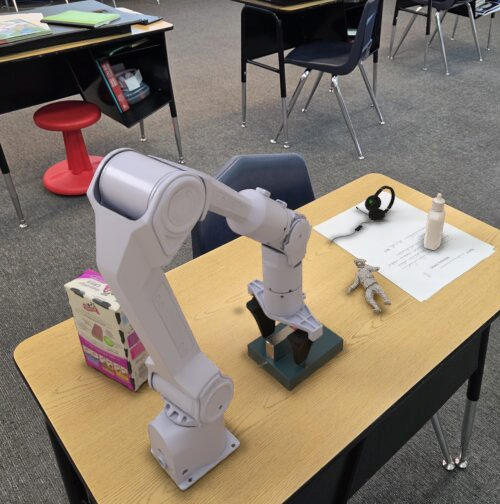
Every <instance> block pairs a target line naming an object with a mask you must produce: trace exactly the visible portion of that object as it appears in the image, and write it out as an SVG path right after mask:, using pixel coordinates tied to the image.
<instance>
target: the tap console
mask: <svg viewBox="0 0 500 504" xmlns="http://www.w3.org/2000/svg"><path fill="white" fill-rule="evenodd" d="M317 321H318V322H319V323H321V322H320V321H319V320H317ZM321 324H322V325H323V334H322V335H321V336H320V337H319V338H318V339H316V340H315V341H314V343H313V344H312V346H311V349H310V351H309V354H308V357H307V359H306V360H305V361H304V362H302V363H301V364H300V365H297V364H296V363H295V362H294V358H293V349H292V350H291V351H290V352H288V353H287V354H286V355H284V356H283V357H281V358H280V359H279V360H277V361H276V362H272V361H271V360H270V359H269V358H268V357H266V340H267V339H269V338H270V337H272V336H273V335H275V334H276V333H278V332H279V331H281V330H282V329H284V328H285V327H286V326H288V325H287V324H284V323H281V322H278V323H277V324H275V331H274V333H273V334H272V335H270V336H269V337H267V338H266V339H264V338H263V337H262V335H261V334H260V336H258V337H257V338H255V339H253V340H252V341H250V342H249V343H248V344H247V345H246V346H247V356H248V357H249V358H250V359H251V360H252V361H254V363H256V364H257V365H258V367H259V368H260V369H261V368H262V369H263V370H264V371H265V372H267V373H268V374H269V375H270V376H271V377H272V378H273V379H275V380H276V381H277V382H278V383H279V384H281V386H283V387H284V388H285V389H286V390H287V391H289V392H291V391H292V390H294V389H295V388H296V387H298V386H299V385H300V384H302V383H303V382H304V381H305V380H307V379H308V378H309V377H310V376H312V375H313V374H314V373H316V372H317V371H319V369H320V368H322V367H323V366H325V364H327V363H329V361H331V360H332V359H334V358H335V357H336V356H337V355H339V354H340V353H341V352H342V351H344V338H342V337H341V336H340V335H338V334H337V333H336V332H334V331H333V330H332V329H330V328H329V327H327V326H326V325H324V324H323V323H321Z"/></svg>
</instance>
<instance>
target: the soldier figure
mask: <svg viewBox="0 0 500 504" xmlns="http://www.w3.org/2000/svg"><path fill="white" fill-rule="evenodd" d="M366 262H367V260H366V259H364V258H355V259H353V263H354V264H355V266H356V268H357V272H356V273H355V277H354V282H353V283H352V285H351V286H350V287H349V288H348V289H347V291H346V294H349V295H351V291H353V290H354V289H356V288H357V287H358V286H359V285H361V286H362V287H363V288H364V291H365V294H364V298H365V301H366V302H367V304H369V305H370V306H372V307H373V308H374V309H372V312H373V313H374V314H380V313H381V312H382V313H383V310H382V309H381V308H380V306H378V304H377V302H376V301H375V299H374V296H375V294H377V295H379V296H380V297H381V298H382V299H384V301H383V304H384V306H388V307H390V306H392V301H390V299H389V297H388V296H387V293H386V292H385V291H384V289H383V287H382V286H380V285H379V283H378V282H377V280H376V279H375V275H374V274H373V272H374V273H377V272H379V271H380V270H381V267H380V266H374V265H369V264H366V265H365V263H366Z"/></svg>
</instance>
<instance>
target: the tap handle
mask: <svg viewBox="0 0 500 504" xmlns="http://www.w3.org/2000/svg"><path fill="white" fill-rule="evenodd" d="M295 330H297V328H295V327H292V326H290V325H288V326H286V327H285V328H284V329H282V330H281V331H279V332H278V333H276V334H275V335H273V336H272V337H270V338H269V339H267V340H266V357H268V358H269V359H270V360H271V361H272V362H276V361H277V360H279V359H280V358H281V357H283V356H284V355H286V354H287V353H288V352H290V351H291V350H292V346H291V344H290V342H289V340H288V339H287V336H288V335H289V334H291V333H292V332H293V331H295Z"/></svg>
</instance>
